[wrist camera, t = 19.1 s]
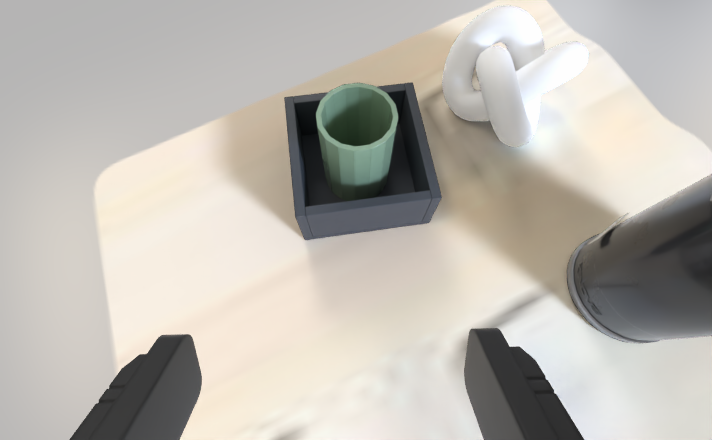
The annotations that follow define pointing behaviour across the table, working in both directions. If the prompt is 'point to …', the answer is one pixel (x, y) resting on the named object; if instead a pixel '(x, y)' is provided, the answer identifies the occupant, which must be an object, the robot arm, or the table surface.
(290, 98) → the tub
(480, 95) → the white knot sculpture
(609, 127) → the table surface
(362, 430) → the table surface
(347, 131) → the cup
